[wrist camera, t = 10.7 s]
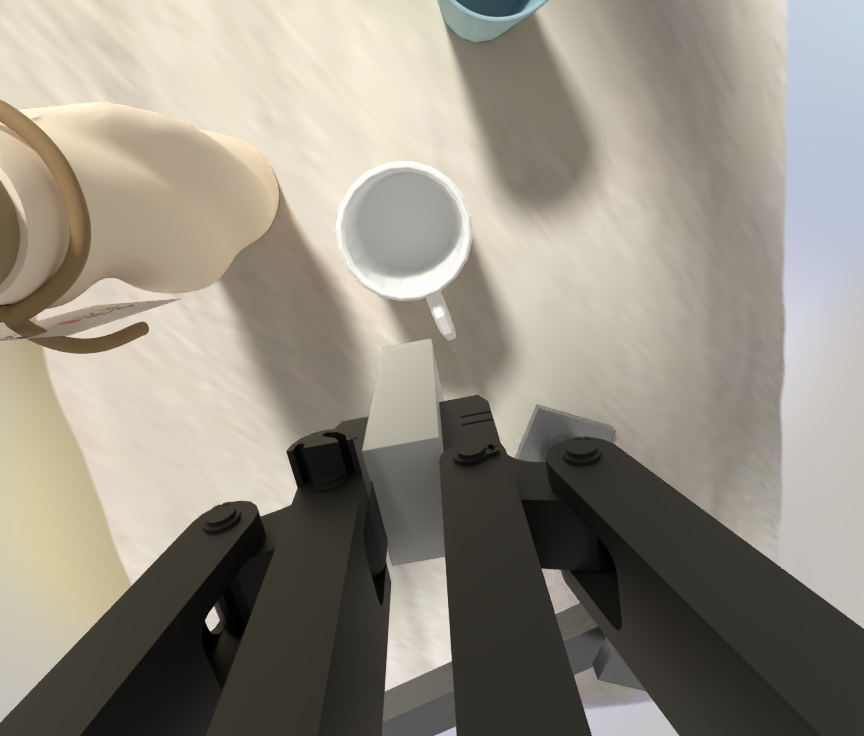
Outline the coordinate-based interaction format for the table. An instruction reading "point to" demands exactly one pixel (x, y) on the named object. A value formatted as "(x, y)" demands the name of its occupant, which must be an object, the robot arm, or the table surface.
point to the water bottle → (117, 213)
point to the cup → (485, 16)
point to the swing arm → (434, 691)
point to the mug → (406, 235)
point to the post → (536, 442)
